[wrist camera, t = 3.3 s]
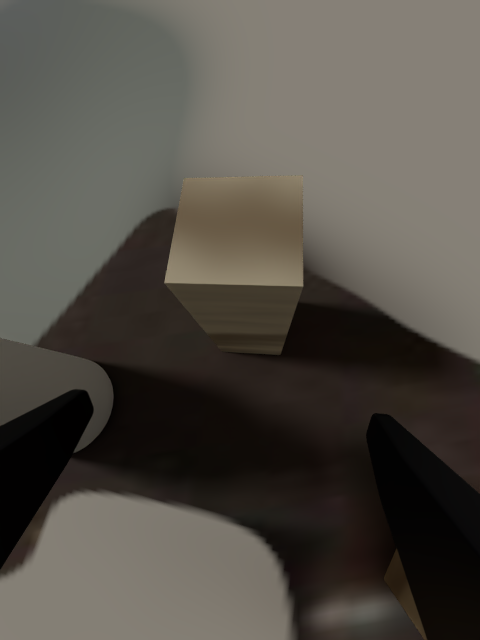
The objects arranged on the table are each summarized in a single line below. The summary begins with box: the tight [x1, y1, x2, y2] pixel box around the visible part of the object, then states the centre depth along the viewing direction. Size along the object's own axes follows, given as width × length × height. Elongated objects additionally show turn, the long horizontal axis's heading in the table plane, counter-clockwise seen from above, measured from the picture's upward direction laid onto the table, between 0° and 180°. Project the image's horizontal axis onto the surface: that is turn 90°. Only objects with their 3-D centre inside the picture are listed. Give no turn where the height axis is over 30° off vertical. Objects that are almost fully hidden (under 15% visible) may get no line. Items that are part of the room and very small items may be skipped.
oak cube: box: [384, 548, 427, 640], centre depth 13 cm, size 5×5×5 cm
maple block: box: [164, 175, 303, 355], centre depth 16 cm, size 5×5×13 cm
